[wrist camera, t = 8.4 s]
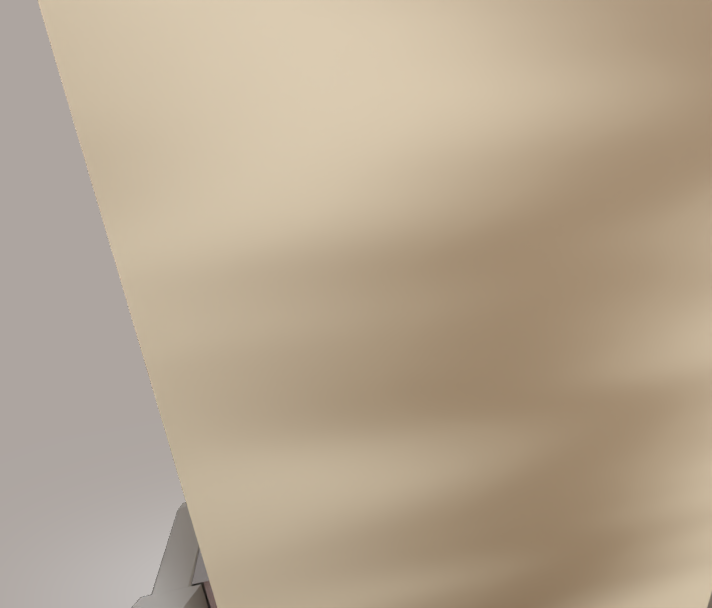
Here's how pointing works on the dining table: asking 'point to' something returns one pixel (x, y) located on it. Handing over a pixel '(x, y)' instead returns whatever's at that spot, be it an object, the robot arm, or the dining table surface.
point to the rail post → (417, 288)
